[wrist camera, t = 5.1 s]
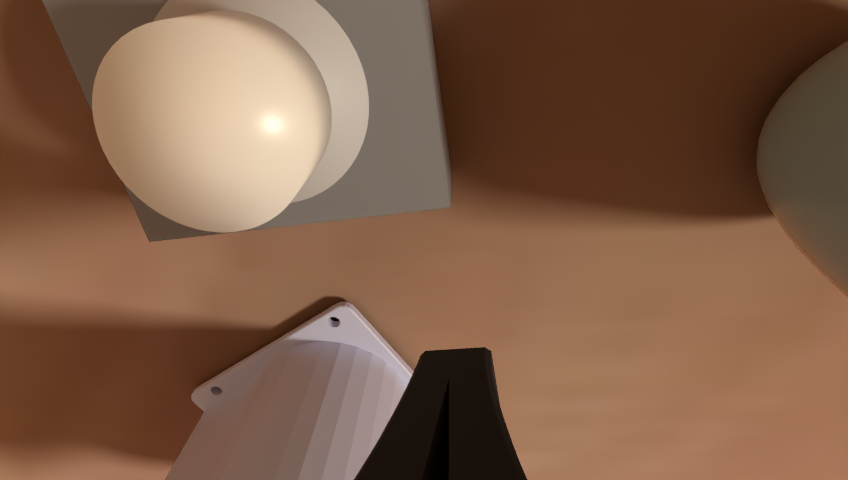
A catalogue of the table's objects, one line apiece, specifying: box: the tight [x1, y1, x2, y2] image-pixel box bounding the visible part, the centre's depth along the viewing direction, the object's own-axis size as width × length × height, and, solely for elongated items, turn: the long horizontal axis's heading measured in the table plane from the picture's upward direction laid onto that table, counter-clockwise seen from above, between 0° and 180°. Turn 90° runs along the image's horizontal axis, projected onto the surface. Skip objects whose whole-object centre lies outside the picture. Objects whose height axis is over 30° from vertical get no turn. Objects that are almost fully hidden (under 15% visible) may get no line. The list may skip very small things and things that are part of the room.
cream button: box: [92, 10, 332, 233], centre depth 13 cm, size 5×5×2 cm
